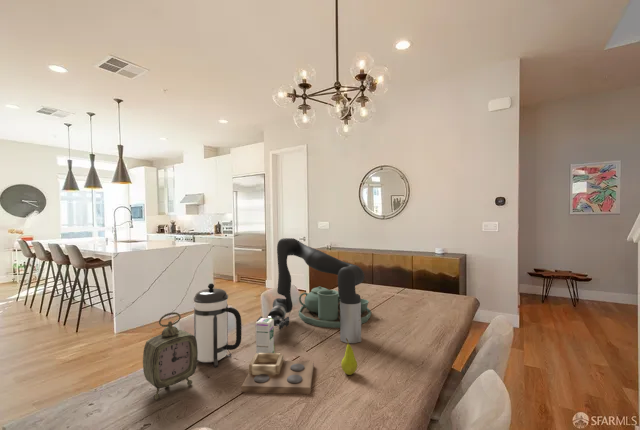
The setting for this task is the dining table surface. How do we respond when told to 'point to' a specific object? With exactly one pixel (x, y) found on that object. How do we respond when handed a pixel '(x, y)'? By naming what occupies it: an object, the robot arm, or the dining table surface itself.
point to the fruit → (349, 361)
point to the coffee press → (213, 325)
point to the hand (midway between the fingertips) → (270, 327)
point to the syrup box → (265, 335)
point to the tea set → (326, 308)
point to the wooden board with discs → (278, 375)
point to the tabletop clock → (170, 356)
